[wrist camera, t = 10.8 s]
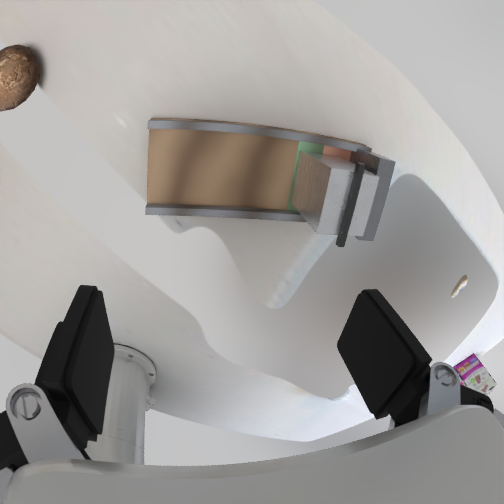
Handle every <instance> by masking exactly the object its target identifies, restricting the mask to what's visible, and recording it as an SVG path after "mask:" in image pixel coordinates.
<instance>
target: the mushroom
mask: <svg viewBox="0 0 504 504" xmlns="http://www.w3.org/2000/svg"><path fill="white" fill-rule="evenodd" d="M38 80H39V64H38V62H37V59H36V57H35V55H34V54H33V52H32V51H31V50H30V48H29V47H25V46H22V45H13V46H9V47H6V48H4V49H2V50H1V51H0V111H5V110H10V109H14V108H16V107H17V106H18V105H20V104H21V103H23V102H24V101H26V99H27V98H28V97H29V96H30V95H31V93H32V92H33V91H34V90H35V87H36V85H37V82H38Z"/></svg>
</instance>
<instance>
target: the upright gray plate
mask: <svg viewBox="0 0 504 504" xmlns="http://www.w3.org/2000/svg"><path fill="white" fill-rule="evenodd" d="M349 162H351V163H353V164H355V165H356V162H359V163H363V164H365V170H367V171H369V172H371V173H373V174H375V175H377V176H379V181H378V185H377V189H376V192H375V196H374V200H373V203H372V207H371V211H370V214H369V218H368V221H367V224H366V228H365V231H364V234H363V237H362V236H355V237H356V238H357V239H358V240H367V241H373V240H374V237H375V234H376V230H377V227H378V224H379V221H380V217H381V214H382V211H383V207H384V204H385V200H386V197H387V193H388V190H389V186H390V182H391V178H392V174H393V170H394V166H395V161H392V160H390V159H388V158H385V157H383V156H380V155H378V154H376V153H373V152H370V151H366V150H362V149H357V150H356V152H355V151H351V154H350V159H349Z"/></svg>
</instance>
